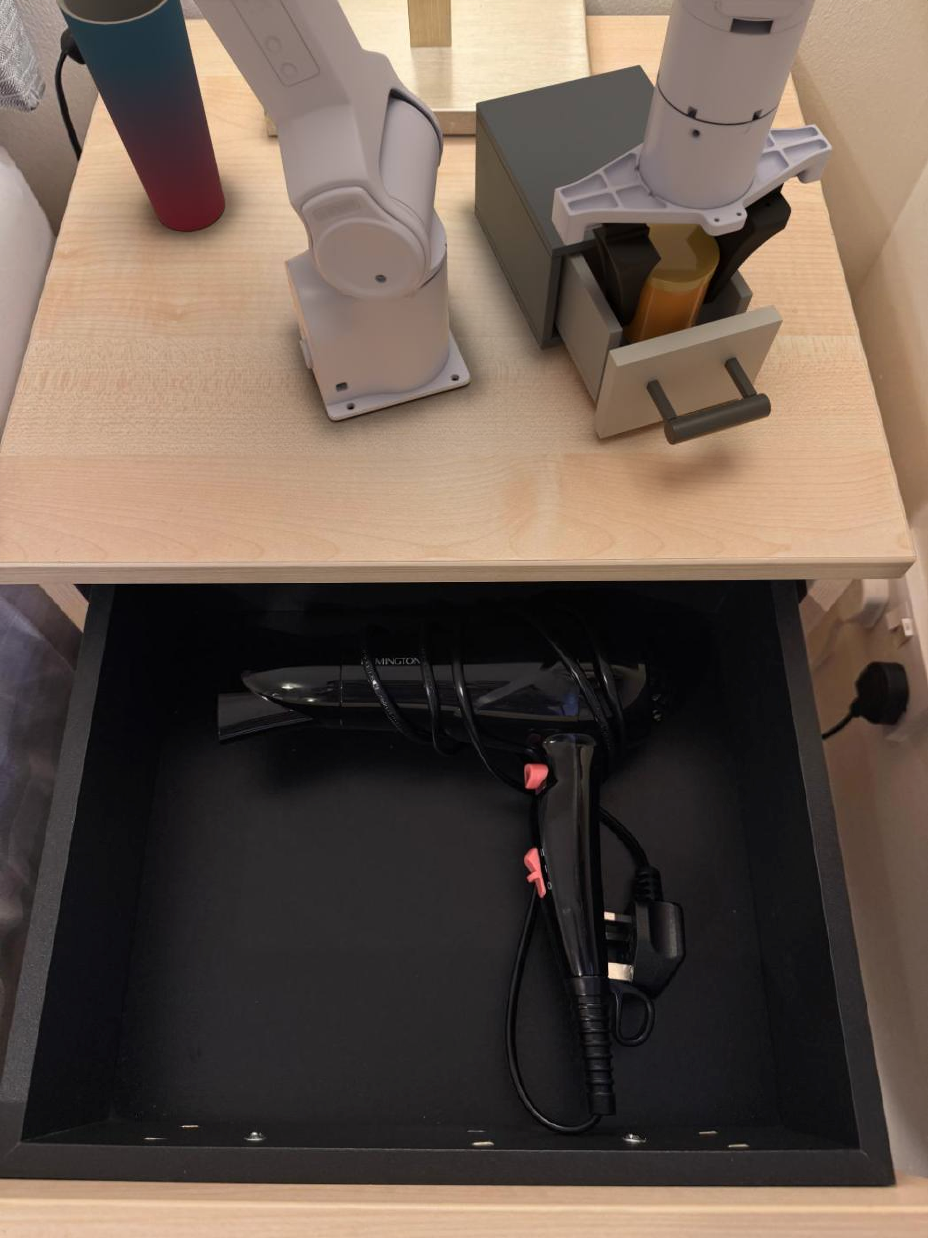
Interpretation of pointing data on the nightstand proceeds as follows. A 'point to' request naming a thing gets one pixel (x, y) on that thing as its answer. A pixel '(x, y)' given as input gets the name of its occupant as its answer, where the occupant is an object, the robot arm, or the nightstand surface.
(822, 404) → the nightstand surface
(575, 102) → the cabinet
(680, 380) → the drawer
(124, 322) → the nightstand surface
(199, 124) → the cup
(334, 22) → the robot arm
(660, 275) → the jar
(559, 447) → the nightstand surface
